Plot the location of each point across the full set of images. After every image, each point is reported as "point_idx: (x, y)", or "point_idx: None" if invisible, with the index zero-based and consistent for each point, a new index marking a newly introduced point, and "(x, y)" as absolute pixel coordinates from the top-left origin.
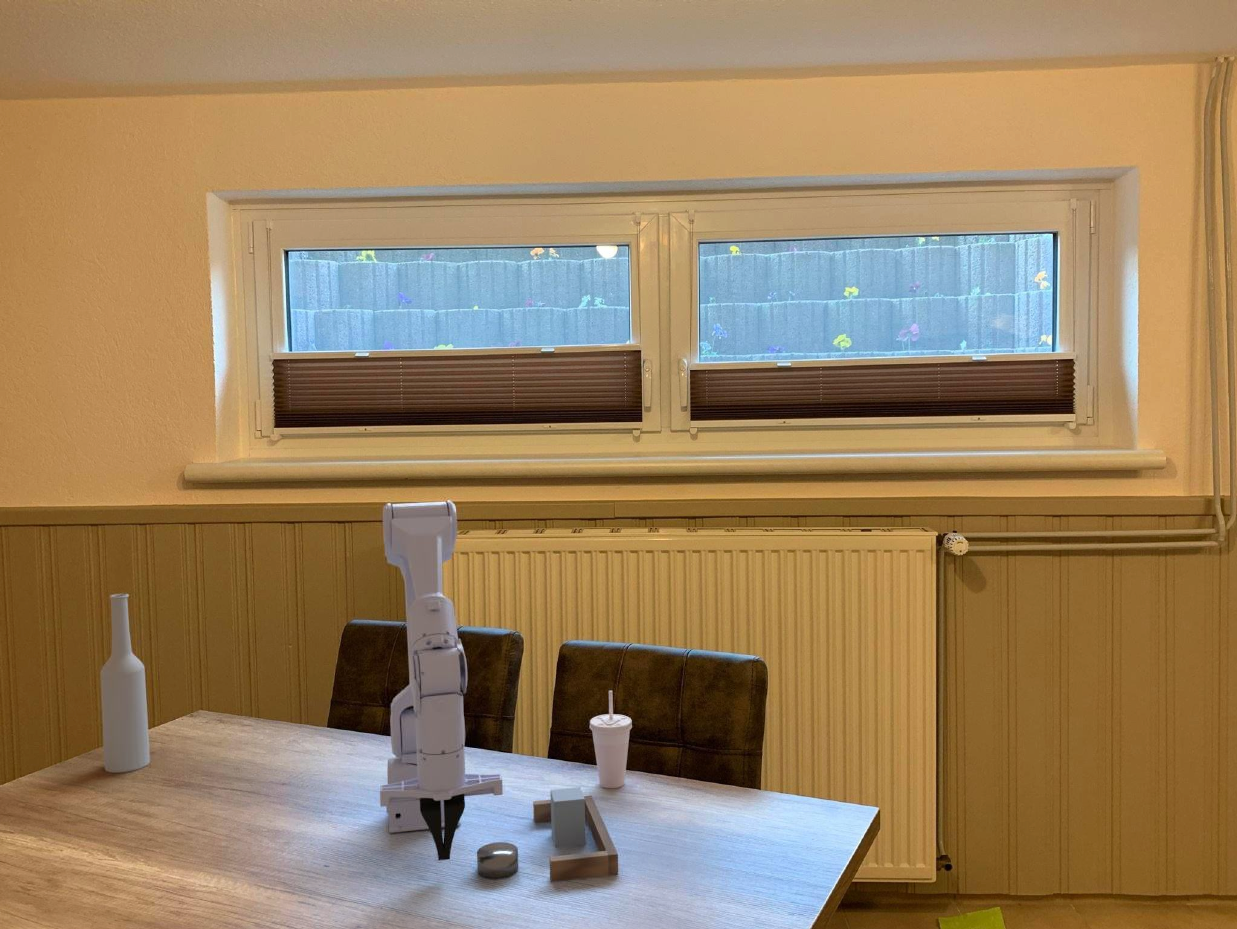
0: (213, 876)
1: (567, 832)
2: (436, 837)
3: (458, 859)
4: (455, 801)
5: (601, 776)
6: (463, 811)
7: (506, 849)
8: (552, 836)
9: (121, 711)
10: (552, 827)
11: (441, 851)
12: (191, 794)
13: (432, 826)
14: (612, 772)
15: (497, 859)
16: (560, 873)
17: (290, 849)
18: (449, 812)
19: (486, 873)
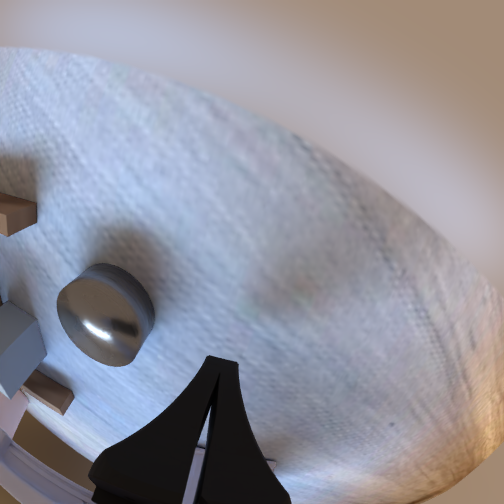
0: (477, 415)
1: (11, 322)
2: (235, 415)
3: (186, 377)
4: (130, 500)
5: (19, 403)
6: (102, 453)
7: (77, 324)
8: (43, 346)
9: None
10: (34, 354)
11: (227, 376)
12: (392, 498)
13: (246, 451)
14: (6, 397)
15: (92, 294)
16: (15, 203)
17: (397, 452)
18: (161, 479)
19: (133, 288)
